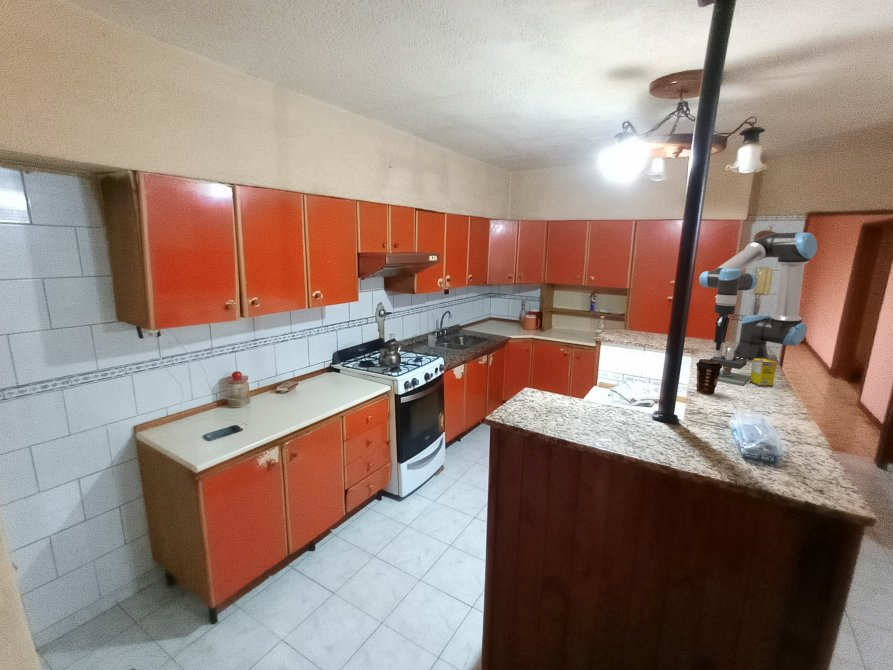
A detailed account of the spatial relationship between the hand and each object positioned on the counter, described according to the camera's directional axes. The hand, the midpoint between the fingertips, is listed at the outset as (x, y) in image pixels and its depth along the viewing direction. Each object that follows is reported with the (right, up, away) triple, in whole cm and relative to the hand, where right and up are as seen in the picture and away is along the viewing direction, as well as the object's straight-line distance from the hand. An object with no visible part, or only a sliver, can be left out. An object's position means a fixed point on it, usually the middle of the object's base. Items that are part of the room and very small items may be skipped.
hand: (717, 356), depth 188 cm
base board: (+3, -10, -1) cm, 10 cm away
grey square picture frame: (+3, -3, -2) cm, 5 cm away
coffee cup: (-18, -13, -21) cm, 31 cm away
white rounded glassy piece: (+3, -8, -1) cm, 9 cm away
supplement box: (+12, -12, -10) cm, 19 cm away
